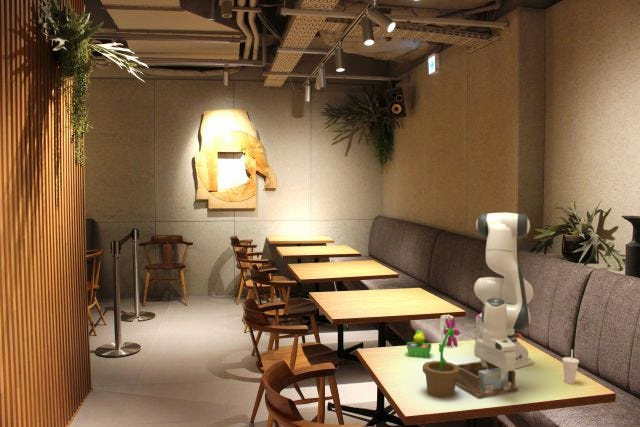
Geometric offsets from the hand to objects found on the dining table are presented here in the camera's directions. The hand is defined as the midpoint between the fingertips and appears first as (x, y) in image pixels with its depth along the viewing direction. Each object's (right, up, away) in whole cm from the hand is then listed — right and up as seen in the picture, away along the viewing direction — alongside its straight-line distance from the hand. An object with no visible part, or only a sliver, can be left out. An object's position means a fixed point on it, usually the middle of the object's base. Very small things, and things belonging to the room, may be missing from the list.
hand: (493, 374), depth 219 cm
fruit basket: (-21, -4, +44) cm, 50 cm away
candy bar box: (+13, -3, +58) cm, 60 cm away
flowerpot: (-21, -7, -1) cm, 22 cm away
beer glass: (-5, -3, +59) cm, 60 cm away
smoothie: (+35, -7, +12) cm, 38 cm away
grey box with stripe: (0, -5, 0) cm, 5 cm away
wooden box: (-2, -7, +5) cm, 9 cm away
